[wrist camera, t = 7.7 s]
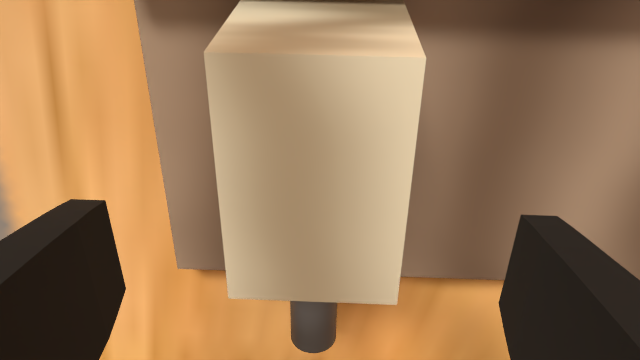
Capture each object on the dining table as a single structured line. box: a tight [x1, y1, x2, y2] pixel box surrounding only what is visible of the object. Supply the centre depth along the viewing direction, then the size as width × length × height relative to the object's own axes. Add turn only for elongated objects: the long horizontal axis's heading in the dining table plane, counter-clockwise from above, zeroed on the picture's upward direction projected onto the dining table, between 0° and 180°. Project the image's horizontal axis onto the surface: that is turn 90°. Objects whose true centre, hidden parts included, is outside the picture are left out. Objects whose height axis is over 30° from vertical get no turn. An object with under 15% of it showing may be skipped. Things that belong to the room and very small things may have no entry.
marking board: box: [134, 0, 640, 280], centre depth 15 cm, size 22×12×3 cm, turn 89°
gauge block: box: [204, 0, 426, 353], centre depth 14 cm, size 4×8×5 cm, turn 179°
